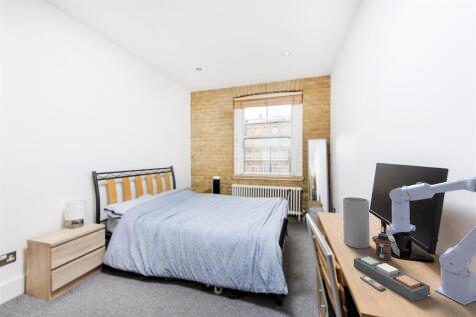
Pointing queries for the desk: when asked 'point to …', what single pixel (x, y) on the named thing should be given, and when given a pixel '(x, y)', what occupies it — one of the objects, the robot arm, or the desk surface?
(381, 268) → the white key
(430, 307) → the desk surface
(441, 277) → the robot arm
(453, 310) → the desk surface
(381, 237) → the supplement bottle
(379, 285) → the card
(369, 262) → the sage key
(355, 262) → the grey divided tray
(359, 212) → the cylinder vase
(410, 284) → the terracotta key
